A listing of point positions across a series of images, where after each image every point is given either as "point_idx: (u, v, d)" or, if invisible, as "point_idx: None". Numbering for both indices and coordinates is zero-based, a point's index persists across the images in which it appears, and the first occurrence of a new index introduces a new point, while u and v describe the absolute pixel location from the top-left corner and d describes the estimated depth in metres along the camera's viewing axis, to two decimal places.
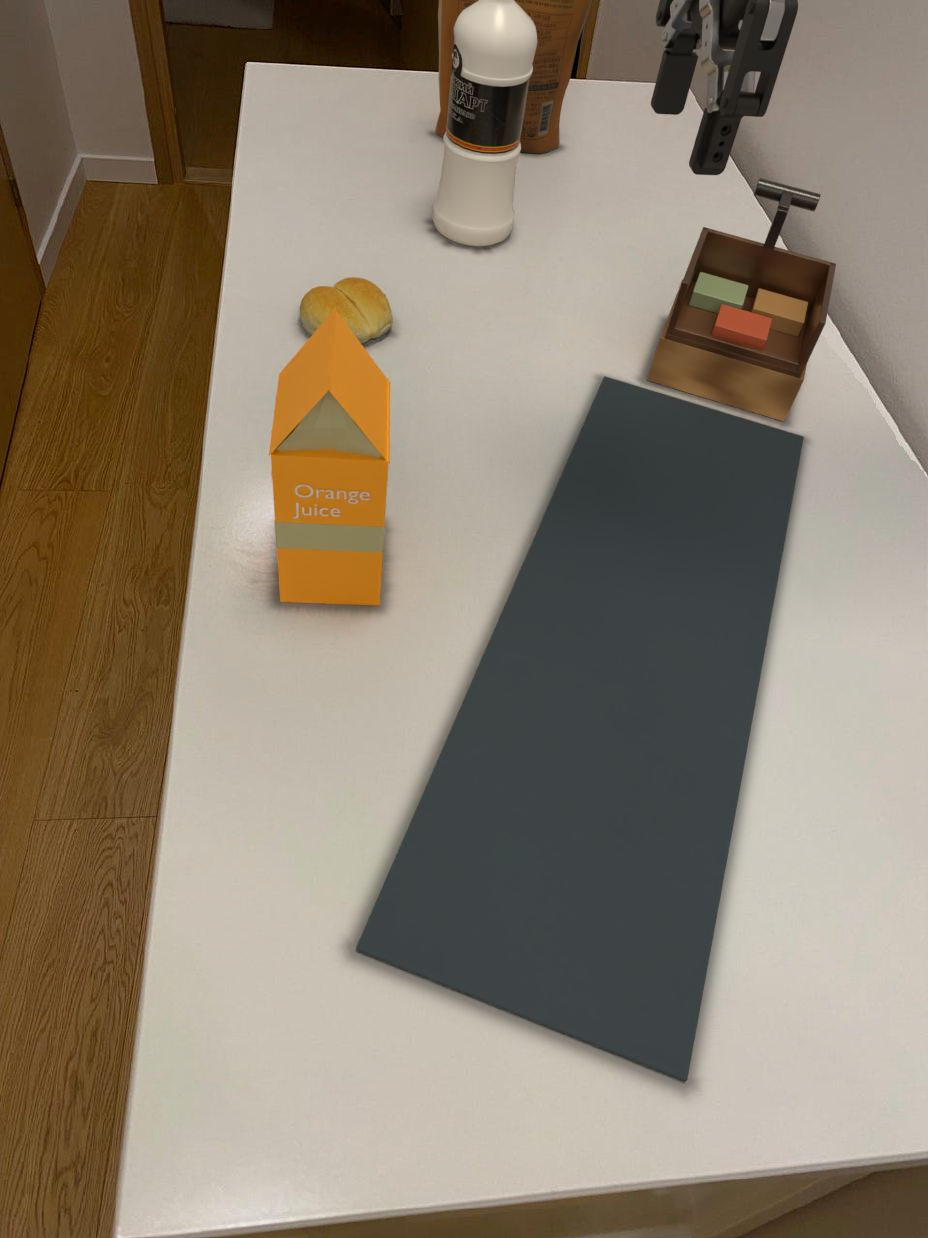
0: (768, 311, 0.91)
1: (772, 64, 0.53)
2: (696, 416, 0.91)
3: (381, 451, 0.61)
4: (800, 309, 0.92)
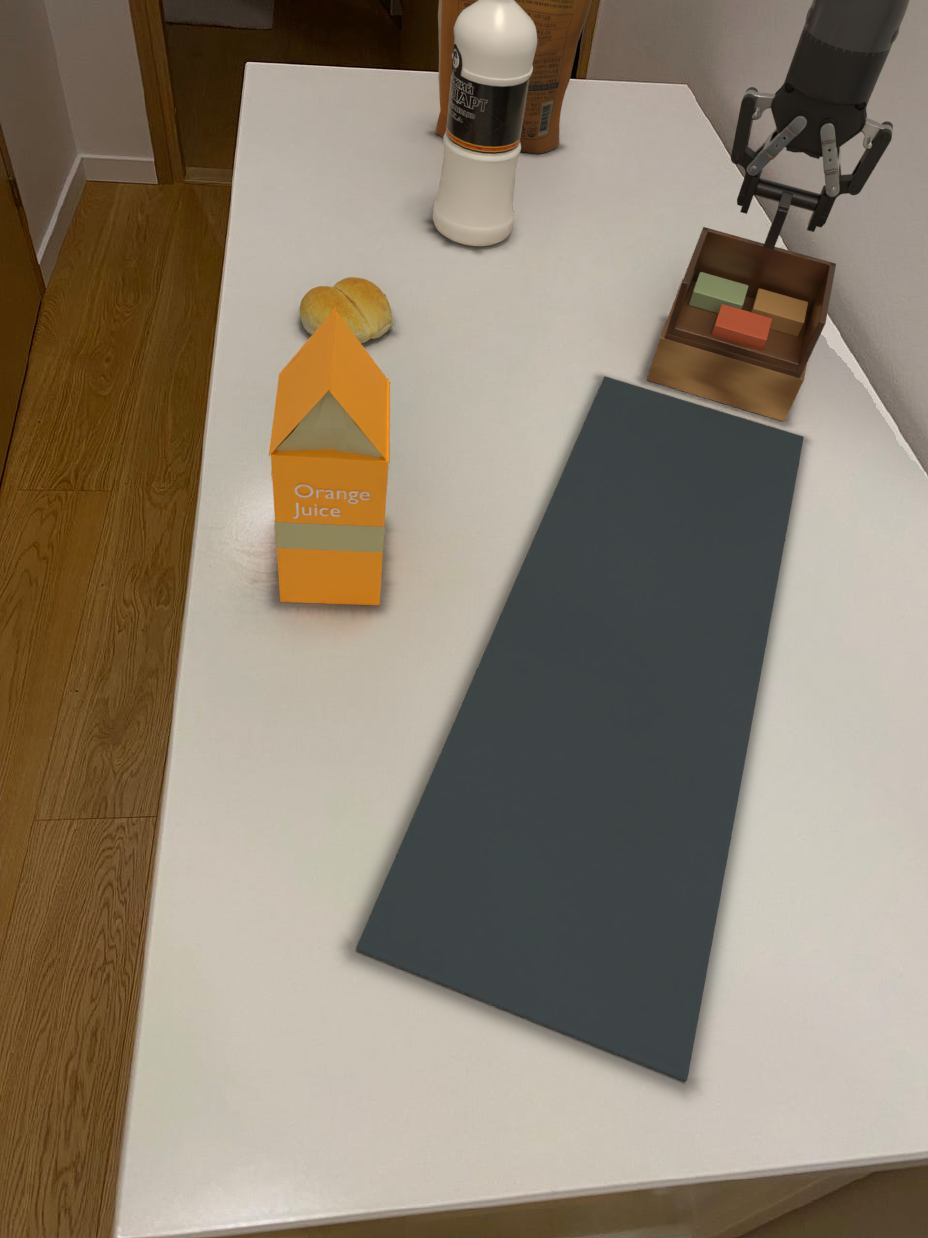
0: (768, 311, 0.91)
1: None
2: (696, 416, 0.91)
3: (381, 451, 0.61)
4: (800, 309, 0.92)
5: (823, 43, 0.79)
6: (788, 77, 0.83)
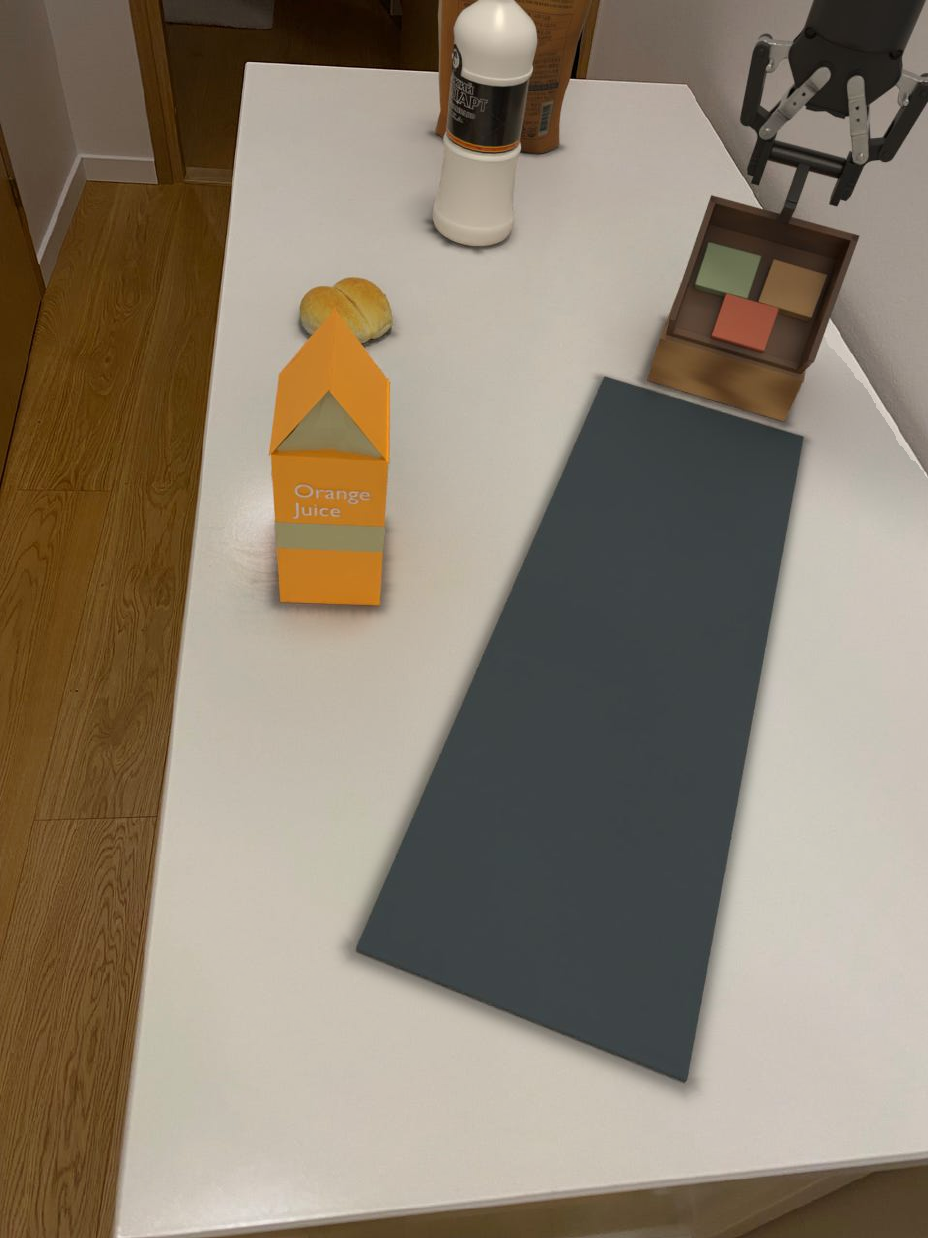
0: (774, 304, 0.87)
1: None
2: (696, 416, 0.91)
3: (381, 451, 0.61)
4: (813, 292, 0.86)
5: None
6: (809, 20, 0.70)
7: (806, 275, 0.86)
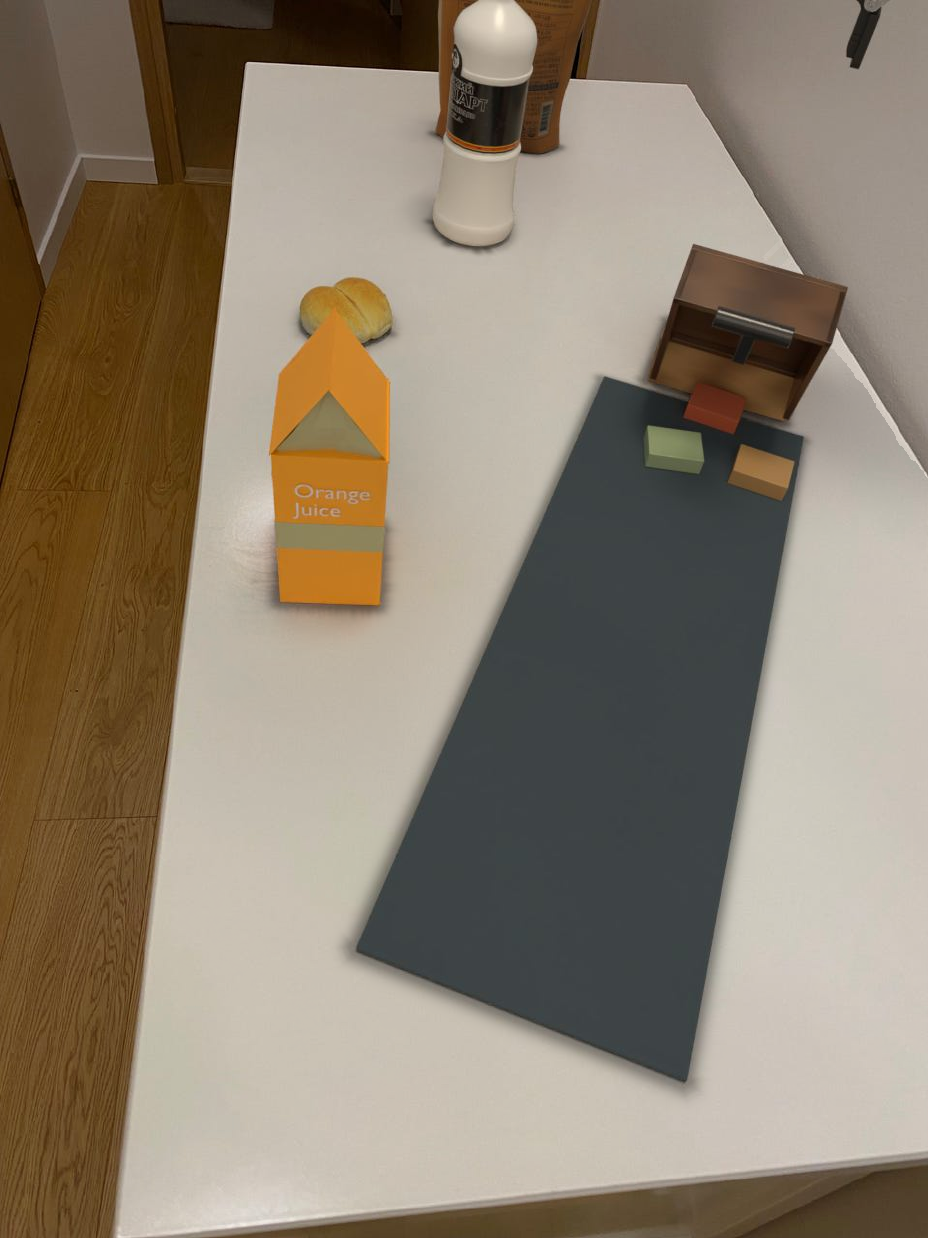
0: None
1: None
2: None
3: (381, 451, 0.61)
4: None
5: None
6: None
7: None
